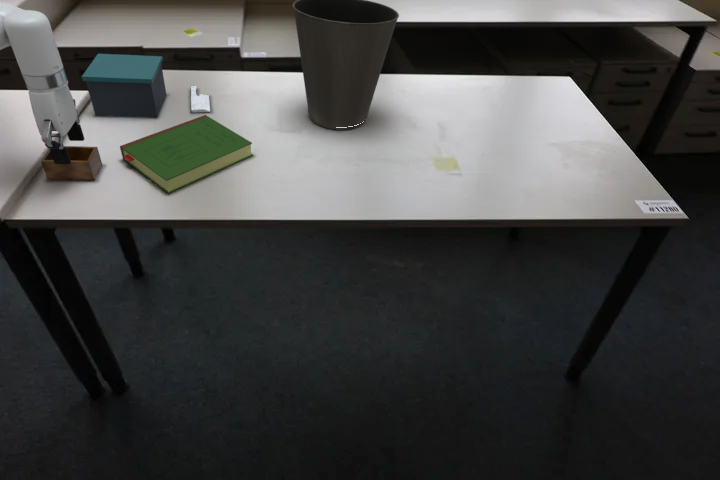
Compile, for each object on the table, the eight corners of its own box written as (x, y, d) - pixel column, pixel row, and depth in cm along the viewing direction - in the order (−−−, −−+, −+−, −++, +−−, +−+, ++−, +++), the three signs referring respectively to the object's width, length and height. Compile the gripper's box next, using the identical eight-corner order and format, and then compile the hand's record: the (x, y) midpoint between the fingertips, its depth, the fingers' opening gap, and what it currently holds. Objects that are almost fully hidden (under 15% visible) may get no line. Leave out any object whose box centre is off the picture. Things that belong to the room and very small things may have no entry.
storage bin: (92, 116, 138) (81, 76, 130) (107, 91, 149) (98, 53, 142) (158, 118, 140) (151, 79, 133) (168, 93, 151) (162, 56, 144)
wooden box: (47, 180, 115) (40, 161, 112) (57, 164, 120) (50, 145, 117) (94, 180, 117) (89, 162, 113) (102, 165, 122) (97, 146, 118)
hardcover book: (206, 127, 139) (205, 114, 136) (252, 155, 130) (252, 142, 128) (120, 160, 123) (116, 147, 121) (165, 195, 115) (162, 181, 113)
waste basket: (381, 102, 159) (394, 0, 139) (388, 136, 144) (404, 26, 124) (293, 97, 156) (294, -8, 137) (290, 131, 141) (290, 18, 121)
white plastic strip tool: (208, 88, 156) (208, 85, 155) (210, 112, 145) (209, 108, 144) (191, 88, 154) (190, 85, 154) (191, 112, 144) (190, 109, 143)
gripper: (41, 60, 110) (65, 131, 121) (7, 96, 97) (38, 173, 108) (78, 61, 110) (99, 132, 122) (50, 97, 98) (76, 173, 109)
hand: (70, 151), depth 115 cm, fingers open, 9 cm apart
